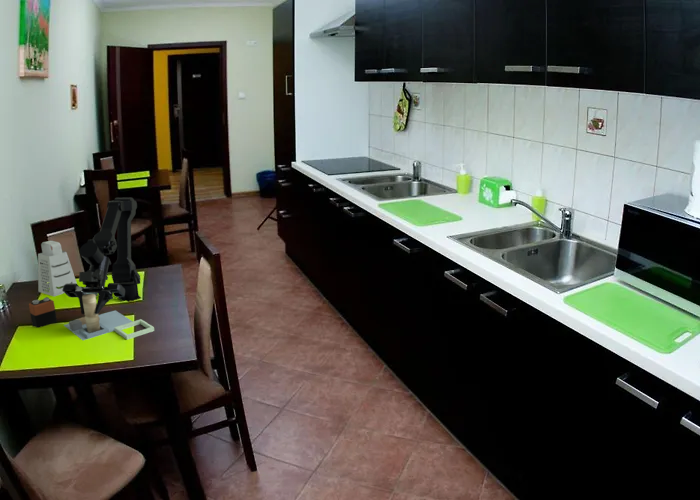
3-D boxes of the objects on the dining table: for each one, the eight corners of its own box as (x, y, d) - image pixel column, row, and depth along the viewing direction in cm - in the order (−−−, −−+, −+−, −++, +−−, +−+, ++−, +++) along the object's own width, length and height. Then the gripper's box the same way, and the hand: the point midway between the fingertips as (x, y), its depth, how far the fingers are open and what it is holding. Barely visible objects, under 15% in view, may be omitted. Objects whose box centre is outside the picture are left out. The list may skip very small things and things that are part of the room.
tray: (141, 325, 202) (141, 319, 201) (154, 333, 195) (153, 327, 195) (115, 334, 196) (114, 327, 195) (127, 342, 189) (126, 335, 188)
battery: (32, 327, 201) (27, 300, 198) (52, 321, 206) (48, 295, 203) (37, 331, 198) (33, 303, 196) (58, 324, 203) (53, 298, 200)
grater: (54, 296, 229) (45, 247, 223) (38, 291, 235) (30, 243, 229) (78, 288, 238) (70, 241, 232) (62, 283, 243) (55, 237, 237)
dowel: (97, 328, 197) (92, 292, 193) (102, 332, 194) (97, 295, 190) (85, 332, 194) (80, 295, 190) (90, 336, 192) (84, 299, 188)
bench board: (115, 313, 212) (114, 303, 211) (136, 327, 201) (135, 317, 200) (64, 328, 200) (62, 318, 199) (83, 343, 189) (81, 333, 188)
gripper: (60, 260, 191) (49, 305, 184) (117, 260, 191) (109, 304, 184) (74, 275, 201) (64, 317, 193) (129, 274, 201) (121, 317, 194)
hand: (89, 314), depth 191 cm, fingers open, 4 cm apart
